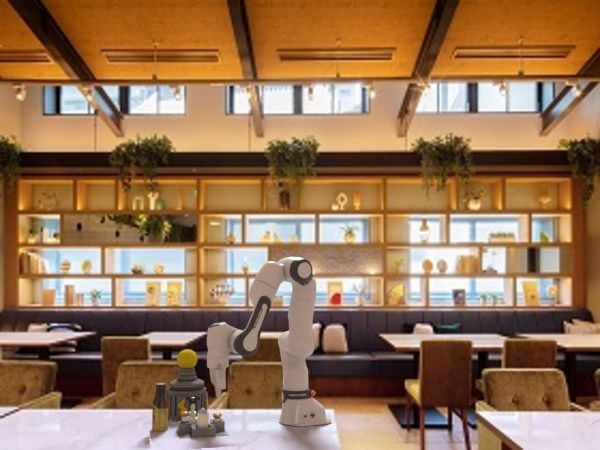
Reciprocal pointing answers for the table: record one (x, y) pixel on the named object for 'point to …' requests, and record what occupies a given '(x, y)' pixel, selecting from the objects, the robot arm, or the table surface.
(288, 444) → the table surface
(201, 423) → the cylinder
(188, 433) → the housing
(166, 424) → the sauce bottle
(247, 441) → the table surface
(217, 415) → the plunger
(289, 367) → the robot arm
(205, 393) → the decorative lamp
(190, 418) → the valve
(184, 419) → the plunger
